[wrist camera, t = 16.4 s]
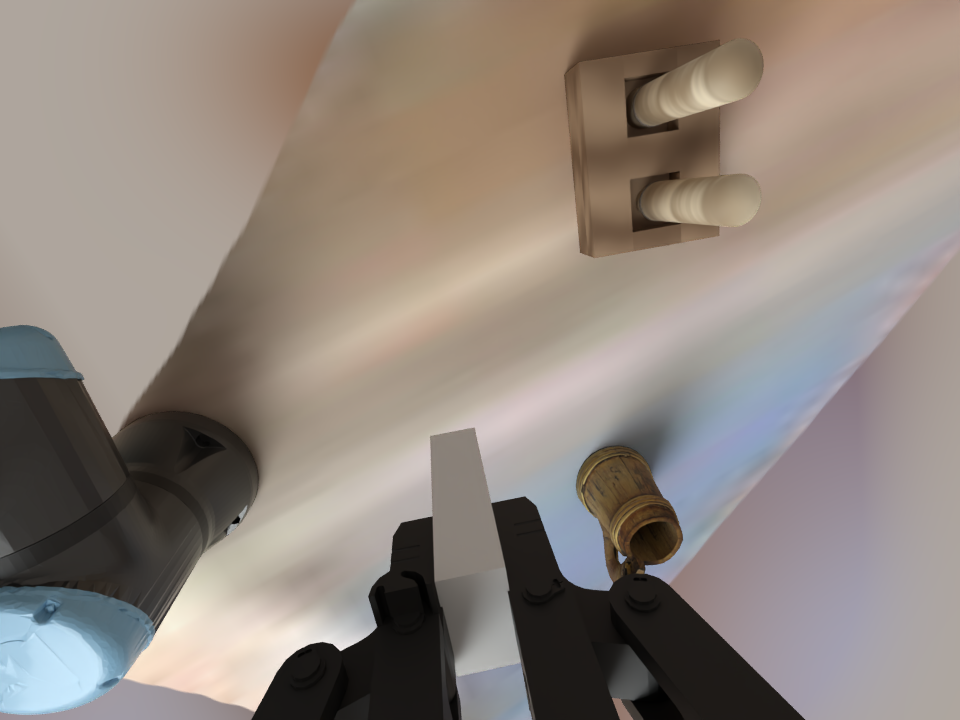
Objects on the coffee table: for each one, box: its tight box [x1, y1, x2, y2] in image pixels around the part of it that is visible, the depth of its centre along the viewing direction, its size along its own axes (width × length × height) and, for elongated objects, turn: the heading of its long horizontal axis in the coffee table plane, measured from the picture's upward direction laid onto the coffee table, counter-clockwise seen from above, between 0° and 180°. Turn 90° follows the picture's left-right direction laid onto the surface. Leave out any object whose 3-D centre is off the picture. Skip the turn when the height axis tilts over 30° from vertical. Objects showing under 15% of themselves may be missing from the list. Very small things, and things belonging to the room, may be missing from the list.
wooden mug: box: [576, 446, 683, 583], centre depth 51 cm, size 9×14×18 cm, turn 151°
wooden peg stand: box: [564, 38, 764, 258], centre depth 39 cm, size 16×12×16 cm
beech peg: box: [635, 174, 761, 227], centre depth 40 cm, size 4×4×14 cm
